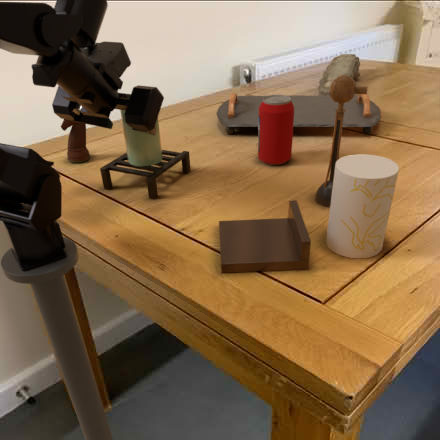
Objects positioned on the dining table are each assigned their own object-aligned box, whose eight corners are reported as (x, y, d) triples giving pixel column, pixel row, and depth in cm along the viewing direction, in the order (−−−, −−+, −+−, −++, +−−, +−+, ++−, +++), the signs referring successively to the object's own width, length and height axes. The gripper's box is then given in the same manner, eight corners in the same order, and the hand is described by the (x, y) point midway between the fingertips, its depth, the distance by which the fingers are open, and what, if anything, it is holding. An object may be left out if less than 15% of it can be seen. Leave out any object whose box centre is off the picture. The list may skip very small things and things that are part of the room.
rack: (154, 199, 83) (151, 178, 80) (103, 188, 87) (99, 168, 84) (190, 171, 92) (189, 151, 90) (143, 162, 96) (140, 143, 94)
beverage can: (274, 151, 99) (276, 91, 91) (298, 160, 94) (302, 98, 87) (250, 160, 95) (251, 98, 88) (274, 169, 91) (276, 106, 84)
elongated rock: (350, 84, 120) (311, 83, 123) (347, 105, 123) (310, 103, 126) (365, 51, 145) (332, 51, 148) (363, 70, 148) (331, 69, 151)
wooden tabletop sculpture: (349, 195, 81) (368, 71, 69) (350, 207, 78) (370, 79, 66) (315, 193, 82) (328, 71, 70) (314, 205, 79) (327, 79, 67)
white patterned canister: (341, 262, 65) (353, 182, 58) (317, 234, 72) (325, 158, 64) (393, 252, 67) (411, 173, 60) (364, 225, 73) (378, 151, 66)
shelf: (221, 273, 64) (220, 245, 62) (219, 229, 74) (218, 203, 71) (308, 269, 64) (311, 241, 62) (294, 225, 74) (296, 200, 71)
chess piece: (65, 157, 99) (53, 109, 93) (88, 152, 101) (78, 104, 95) (71, 164, 96) (59, 114, 90) (95, 159, 98) (85, 110, 92)
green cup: (162, 165, 85) (156, 108, 78) (127, 167, 84) (117, 110, 78) (163, 152, 90) (156, 97, 83) (129, 154, 89) (121, 99, 83)
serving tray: (212, 137, 106) (210, 109, 103) (222, 106, 125) (221, 82, 121) (386, 138, 102) (392, 108, 99) (371, 106, 120) (375, 80, 117)
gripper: (149, 26, 64) (193, 91, 78) (46, 22, 71) (104, 82, 85) (124, 102, 63) (173, 153, 78) (22, 90, 70) (85, 139, 85)
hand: (133, 129), depth 81 cm, fingers open, 9 cm apart
